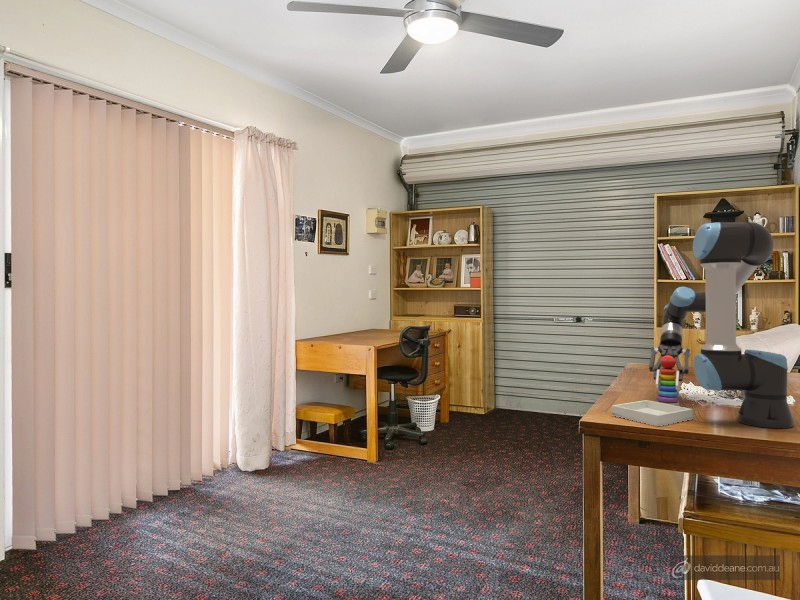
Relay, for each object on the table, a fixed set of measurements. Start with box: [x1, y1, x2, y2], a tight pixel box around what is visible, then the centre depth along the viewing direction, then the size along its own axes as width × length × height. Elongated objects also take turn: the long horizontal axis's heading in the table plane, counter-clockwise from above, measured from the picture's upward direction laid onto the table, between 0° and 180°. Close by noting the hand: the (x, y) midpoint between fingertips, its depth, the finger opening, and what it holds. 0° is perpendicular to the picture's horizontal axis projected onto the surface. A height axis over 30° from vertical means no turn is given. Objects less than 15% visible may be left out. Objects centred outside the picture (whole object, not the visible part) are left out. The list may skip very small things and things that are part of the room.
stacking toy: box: [655, 355, 681, 407], centre depth 213 cm, size 8×8×19 cm
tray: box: [611, 399, 694, 427], centre depth 197 cm, size 18×18×4 cm
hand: (666, 386), depth 210 cm, fingers closed on stacking toy, 6 cm apart
